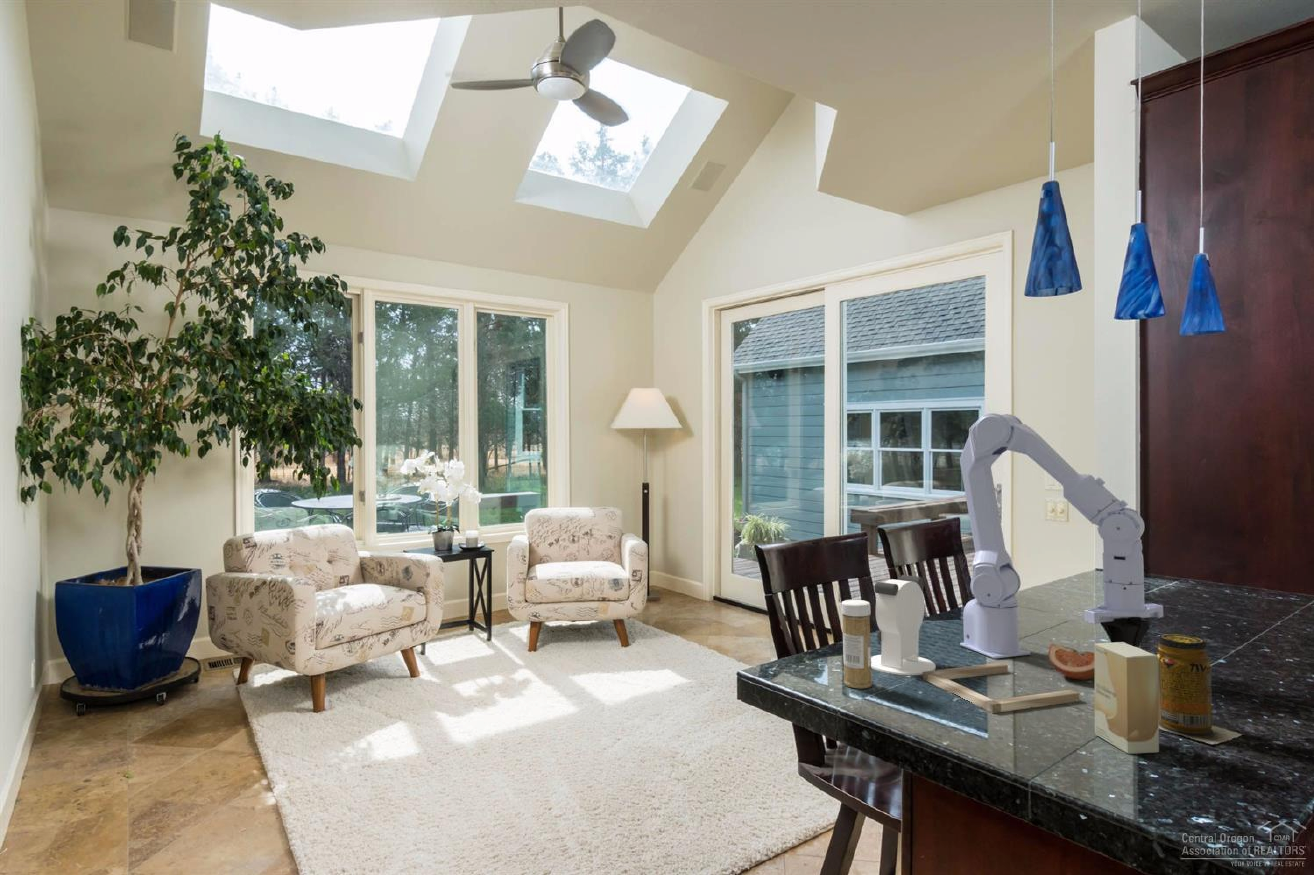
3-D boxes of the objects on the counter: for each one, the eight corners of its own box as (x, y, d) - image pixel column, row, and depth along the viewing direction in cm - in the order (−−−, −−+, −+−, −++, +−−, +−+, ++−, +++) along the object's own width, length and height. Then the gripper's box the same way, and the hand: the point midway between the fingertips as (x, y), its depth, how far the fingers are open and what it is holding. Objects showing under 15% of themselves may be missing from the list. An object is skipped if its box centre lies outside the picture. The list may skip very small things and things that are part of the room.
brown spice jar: (878, 685, 115) (876, 602, 116) (859, 691, 113) (857, 605, 113) (856, 678, 119) (854, 597, 119) (837, 683, 117) (835, 601, 117)
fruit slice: (1114, 681, 115) (1113, 650, 116) (1098, 690, 111) (1097, 658, 111) (1059, 669, 122) (1058, 640, 122) (1042, 678, 118) (1041, 647, 118)
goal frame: (922, 679, 118) (922, 671, 118) (1001, 669, 122) (1001, 662, 122) (992, 713, 103) (992, 704, 103) (1079, 700, 107) (1079, 692, 107)
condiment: (1172, 714, 101) (1170, 629, 101) (1242, 736, 93) (1240, 643, 94) (1141, 724, 98) (1138, 636, 98) (1211, 747, 90) (1208, 651, 90)
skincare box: (1093, 735, 94) (1090, 642, 95) (1124, 733, 95) (1121, 640, 95) (1129, 755, 88) (1126, 655, 88) (1162, 753, 88) (1159, 654, 89)
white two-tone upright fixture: (888, 651, 134) (886, 571, 135) (948, 663, 126) (946, 578, 127) (855, 665, 126) (853, 580, 126) (917, 679, 118) (914, 588, 118)
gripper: (1109, 588, 114) (1112, 674, 113) (1179, 582, 118) (1182, 665, 117) (1073, 581, 120) (1075, 662, 120) (1140, 575, 124) (1142, 654, 124)
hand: (1125, 663), depth 119 cm, fingers closed
